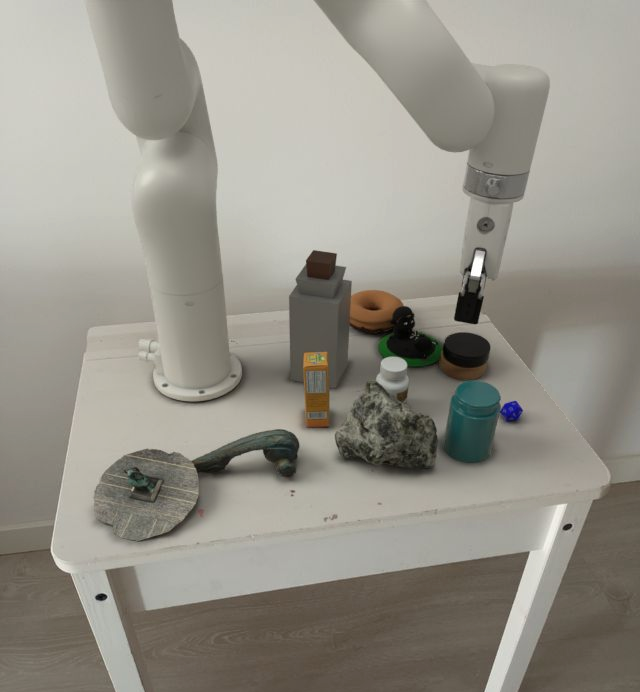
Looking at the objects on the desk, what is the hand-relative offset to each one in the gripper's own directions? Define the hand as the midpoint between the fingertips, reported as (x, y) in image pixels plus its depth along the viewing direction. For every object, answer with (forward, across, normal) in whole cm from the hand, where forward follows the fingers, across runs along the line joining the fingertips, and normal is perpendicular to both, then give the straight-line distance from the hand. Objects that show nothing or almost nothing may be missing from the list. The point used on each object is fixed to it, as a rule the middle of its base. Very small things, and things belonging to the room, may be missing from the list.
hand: (469, 304), depth 91 cm
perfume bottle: (+11, -7, +19) cm, 23 cm away
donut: (+7, +9, +15) cm, 19 cm away
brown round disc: (+10, 0, -1) cm, 10 cm away
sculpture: (+14, -38, +33) cm, 53 cm away
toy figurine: (+11, +3, +7) cm, 13 cm away
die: (+11, -10, -8) cm, 17 cm away
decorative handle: (+11, -30, +23) cm, 39 cm away
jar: (+11, -18, -3) cm, 21 cm away
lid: (+7, 0, -1) cm, 7 cm away
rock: (+11, -22, +7) cm, 26 cm away
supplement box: (+11, -18, +16) cm, 27 cm away
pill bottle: (+11, -13, +8) cm, 19 cm away
